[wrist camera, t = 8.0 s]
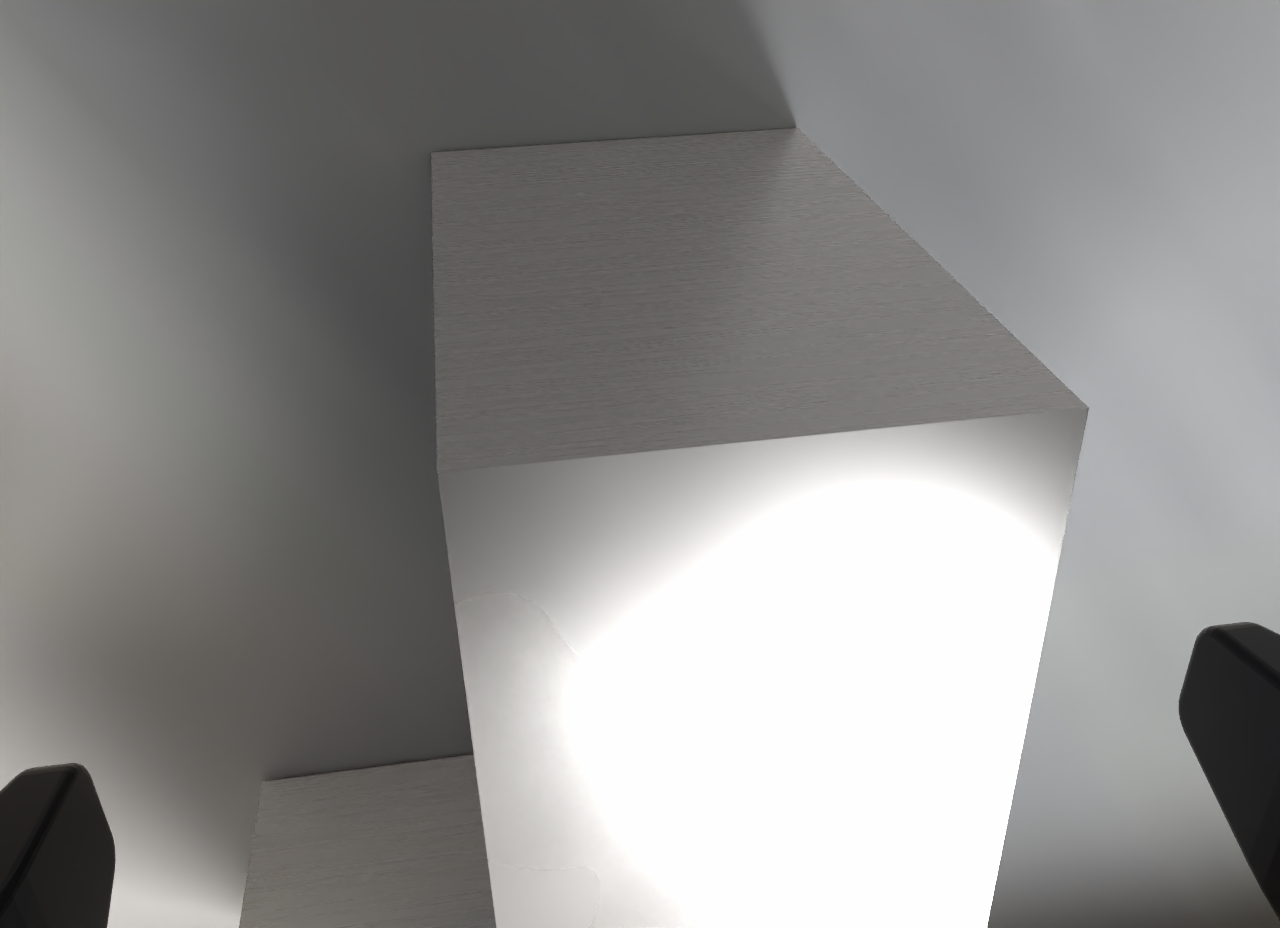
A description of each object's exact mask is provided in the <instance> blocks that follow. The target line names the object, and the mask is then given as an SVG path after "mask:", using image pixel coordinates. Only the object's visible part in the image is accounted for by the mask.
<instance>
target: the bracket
mask: <svg viewBox="0 0 1280 928" xmlns="http://www.w3.org/2000/svg"><path fill="white" fill-rule="evenodd" d="M431 174H432V228H433V283H434V338H435V392H436V447H437V477H438V484H439V492H440V500H441V507H442V515H443V523H444V530H445V538H446V546H447V553H448V561H449V568H450V576H451V584H452V591H453V599H454V607H455V614H456V622H457V630H458V637H459V645H460V653H461V660H462V668H463V675H464V683H465V691H466V698H467V706H468V714H469V721H470V729H471V737H472V744H473V752H474V754H473V755H465V756H458V757H450V758H442V759H435V760H427V761H419V762H411V763H404V764H396V765H388V766H381V767H373V768H365V769H357V770H350V771H342V772H334V773H327V774H319V775H311V776H303V777H296V778H288V779H280V780H273V781H265V782H262V786H261V793H260V799H259V805H258V811H257V818H256V824H255V830H254V836H253V843H252V849H251V855H250V861H249V868H248V874H247V880H246V886H245V893H244V899H243V905H242V911H241V918H240V924H239V928H987V924H988V919H989V913H990V908H991V903H992V898H993V893H994V888H995V883H996V878H997V873H998V868H999V863H1000V857H1001V852H1002V847H1003V842H1004V837H1005V832H1006V827H1007V822H1008V817H1009V812H1010V807H1011V801H1012V796H1013V791H1014V786H1015V781H1016V776H1017V771H1018V766H1019V761H1020V756H1021V751H1022V745H1023V740H1024V735H1025V730H1026V725H1027V720H1028V715H1029V710H1030V705H1031V700H1032V695H1033V689H1034V684H1035V679H1036V674H1037V669H1038V664H1039V659H1040V654H1041V649H1042V644H1043V639H1044V633H1045V628H1046V623H1047V618H1048V613H1049V608H1050V603H1051V598H1052V593H1053V588H1054V583H1055V577H1056V572H1057V567H1058V562H1059V557H1060V552H1061V547H1062V542H1063V537H1064V532H1065V527H1066V521H1067V516H1068V511H1069V506H1070V501H1071V496H1072V491H1073V486H1074V481H1075V476H1076V471H1077V465H1078V460H1079V455H1080V450H1081V445H1082V440H1083V435H1084V430H1085V425H1086V420H1087V415H1088V409H1089V407H1088V406H1087V405H1086V404H1084V403H1083V402H1082V401H1081V400H1080V399H1079V398H1078V397H1077V396H1076V395H1075V394H1074V393H1073V392H1072V391H1071V390H1070V389H1069V388H1068V387H1067V386H1066V385H1065V384H1064V383H1063V382H1062V381H1061V380H1059V379H1058V378H1057V377H1056V376H1055V375H1054V374H1053V373H1052V372H1051V371H1050V370H1049V369H1048V368H1047V367H1046V366H1045V365H1044V364H1043V363H1042V362H1041V361H1040V360H1039V359H1038V358H1037V357H1035V356H1034V355H1033V354H1032V353H1031V352H1030V351H1029V350H1028V349H1027V348H1026V347H1025V346H1024V345H1023V344H1022V343H1021V342H1020V341H1019V340H1018V339H1017V338H1016V337H1015V336H1014V335H1013V334H1012V333H1010V332H1009V331H1008V330H1007V329H1006V328H1005V327H1004V326H1003V325H1002V324H1001V323H1000V322H999V321H998V320H997V319H996V318H995V317H994V316H993V315H992V314H991V313H990V312H989V311H988V310H987V309H985V308H984V307H983V306H982V305H981V304H980V303H979V302H978V301H977V300H976V299H975V298H974V297H973V296H972V295H971V294H970V293H969V292H968V291H967V290H966V289H965V288H964V287H963V286H962V285H960V284H959V283H958V282H957V281H956V280H955V279H954V278H953V277H952V276H951V275H950V274H949V273H948V272H947V271H946V270H945V269H944V268H943V267H942V266H941V265H940V264H939V263H938V262H936V261H935V260H934V259H933V258H932V257H931V256H930V255H929V254H928V253H927V252H926V251H925V250H924V249H923V248H922V247H921V246H920V245H919V244H918V243H917V242H916V241H915V240H914V239H913V238H911V237H910V236H909V235H908V234H907V233H906V232H905V231H904V230H903V229H902V228H901V227H900V226H899V225H898V224H897V223H896V222H895V221H894V220H893V219H892V218H891V217H890V216H889V215H888V214H886V213H885V212H884V211H883V210H882V209H881V208H880V207H879V206H878V205H877V204H876V203H875V202H874V201H873V200H872V199H871V198H870V197H869V196H868V195H867V194H866V193H865V192H864V191H863V190H861V189H860V188H859V187H858V186H857V185H856V184H855V183H854V182H853V181H852V180H851V179H850V178H849V177H848V176H847V175H846V174H845V173H844V172H843V171H842V170H841V169H840V168H839V167H838V166H836V165H835V164H834V163H833V162H832V161H831V160H830V159H829V158H828V157H827V156H826V155H825V154H824V153H823V152H822V151H821V150H820V149H819V148H818V147H817V146H816V145H815V144H814V143H812V142H811V141H810V140H809V139H808V138H807V137H806V136H805V135H804V134H803V133H802V132H801V131H800V130H799V129H798V128H789V129H774V130H759V131H744V132H729V133H714V134H699V135H684V136H669V137H654V138H639V139H623V140H608V141H593V142H578V143H563V144H548V145H533V146H518V147H503V148H488V149H473V150H458V151H443V152H431Z"/></svg>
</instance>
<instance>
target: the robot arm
mask: <svg viewBox="0 0 1280 928" xmlns="http://www.w3.org/2000/svg"><path fill="white" fill-rule="evenodd" d="M1179 715H1180V720H1181V724H1182V727H1183V730H1184V732H1185V734H1186V736H1187V738H1188V740H1189V742H1190V745H1191V747H1192V749H1193V751H1194V753H1195V755H1196V757H1197V759H1198V761H1199V763H1200V765H1201V767H1202V769H1203V771H1204V774H1205V776H1206V778H1207V780H1208V782H1209V784H1210V786H1211V788H1212V790H1213V792H1214V794H1215V796H1216V798H1217V801H1218V803H1219V805H1220V807H1221V809H1222V811H1223V813H1224V815H1225V817H1226V819H1227V821H1228V823H1229V825H1230V827H1231V830H1232V832H1233V834H1234V836H1235V838H1236V840H1237V842H1238V844H1239V846H1240V848H1241V850H1242V852H1243V854H1244V857H1245V859H1246V861H1247V863H1248V865H1249V867H1250V868H1251V870H1252V872H1253V874H1254V876H1255V878H1256V880H1257V882H1258V884H1259V886H1260V888H1261V889H1262V891H1263V893H1264V895H1265V896H1266V898H1267V900H1268V901H1269V903H1270V905H1271V907H1272V908H1273V910H1274V912H1275V914H1276V915H1277V917H1278V919H1279V920H1280V635H1279V634H1277V633H1275V632H1273V631H1271V630H1269V629H1267V628H1265V627H1263V626H1260V625H1258V624H1255V623H1251V622H1241V623H1233V624H1224V625H1216V626H1210V627H1207V628H1205V629H1203V630H1202V632H1201V633H1200V634H1199V635H1198V636H1197V638H1196V641H1195V644H1194V648H1193V651H1192V655H1191V658H1190V662H1189V665H1188V669H1187V672H1186V676H1185V680H1184V683H1183V687H1182V690H1181V694H1180V698H1179ZM114 872H115V846H114V840H113V836H112V833H111V830H110V828H109V825H108V822H107V819H106V817H105V814H104V811H103V808H102V806H101V803H100V800H99V797H98V795H97V792H96V789H95V787H94V784H93V781H92V778H91V776H90V774H89V772H88V771H87V770H86V768H85V767H84V766H82V765H80V764H76V763H69V764H61V765H52V766H44V767H36V768H31V769H27V770H25V771H23V772H21V773H20V774H19V775H17V776H16V777H15V778H14V779H13V780H12V781H11V782H9V783H8V784H7V785H6V786H5V787H4V788H3V789H2V790H1V791H0V928H107V924H108V917H109V909H110V902H111V894H112V887H113V880H114Z"/></svg>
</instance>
